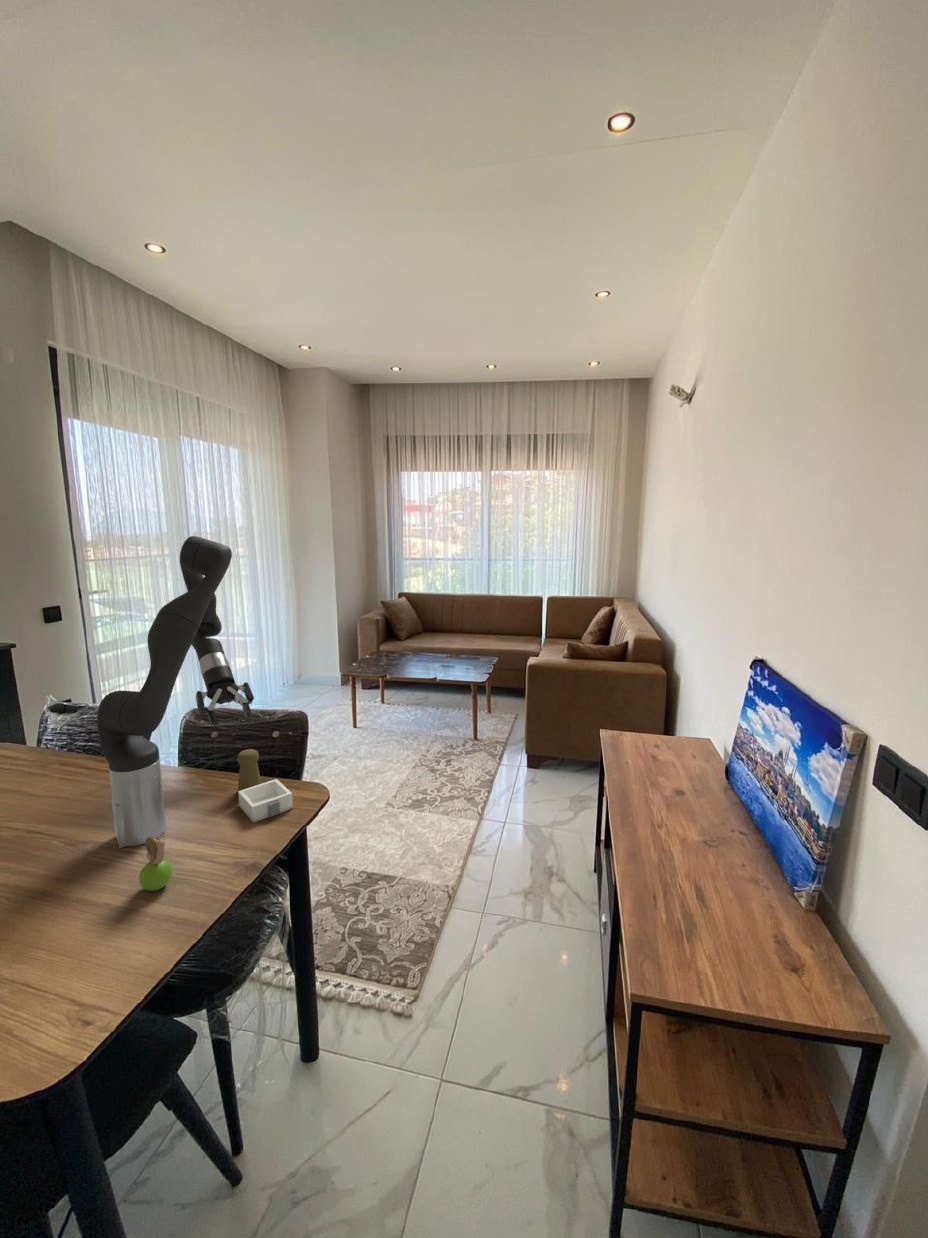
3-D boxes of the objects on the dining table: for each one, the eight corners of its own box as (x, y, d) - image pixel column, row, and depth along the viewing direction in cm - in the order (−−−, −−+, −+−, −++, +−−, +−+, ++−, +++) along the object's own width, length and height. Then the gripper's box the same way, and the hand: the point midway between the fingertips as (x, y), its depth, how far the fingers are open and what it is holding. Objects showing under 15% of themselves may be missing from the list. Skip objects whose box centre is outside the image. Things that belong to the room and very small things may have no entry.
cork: (253, 797, 126) (250, 757, 124) (232, 794, 127) (229, 755, 125) (267, 785, 132) (264, 747, 130) (247, 783, 133) (244, 745, 131)
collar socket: (254, 824, 114) (253, 809, 113) (239, 806, 122) (238, 791, 121) (294, 809, 120) (293, 794, 120) (277, 793, 128) (276, 778, 127)
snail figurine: (152, 904, 89) (146, 844, 87) (134, 890, 92) (128, 832, 90) (182, 886, 94) (177, 829, 92) (164, 874, 97) (159, 818, 95)
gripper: (191, 669, 134) (206, 720, 128) (244, 660, 144) (261, 708, 138) (187, 683, 139) (202, 733, 133) (239, 674, 149) (255, 720, 142)
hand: (232, 720), depth 135 cm, fingers open, 8 cm apart
